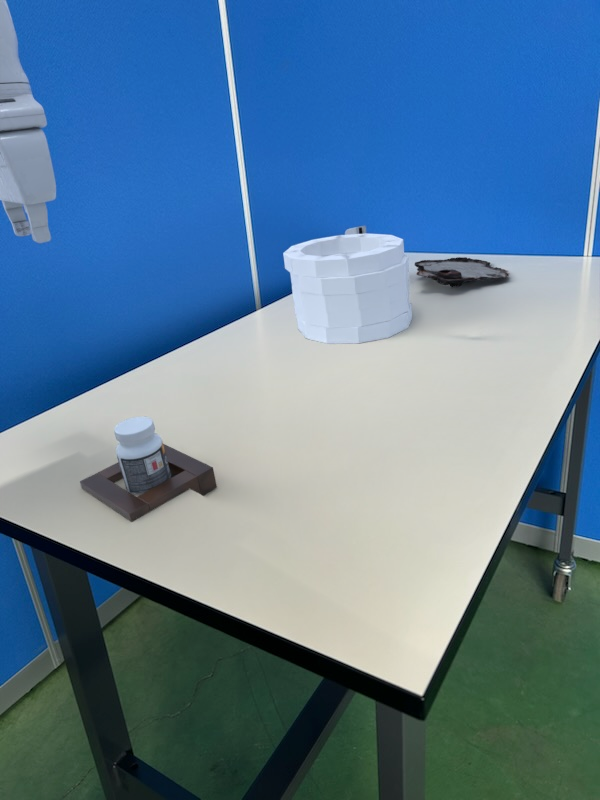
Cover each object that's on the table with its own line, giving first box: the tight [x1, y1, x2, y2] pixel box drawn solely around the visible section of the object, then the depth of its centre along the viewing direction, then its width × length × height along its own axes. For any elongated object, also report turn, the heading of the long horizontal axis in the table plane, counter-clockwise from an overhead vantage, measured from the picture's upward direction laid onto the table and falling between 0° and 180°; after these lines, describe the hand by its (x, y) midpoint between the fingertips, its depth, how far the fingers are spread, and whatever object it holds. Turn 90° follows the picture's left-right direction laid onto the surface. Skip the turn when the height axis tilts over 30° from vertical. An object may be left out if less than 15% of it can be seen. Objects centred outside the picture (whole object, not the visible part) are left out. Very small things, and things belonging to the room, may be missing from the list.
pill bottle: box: [113, 416, 172, 495], centre depth 77 cm, size 6×6×10 cm
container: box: [282, 232, 413, 345], centre depth 127 cm, size 25×24×16 cm
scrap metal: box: [414, 256, 510, 289], centre depth 151 cm, size 23×4×30 cm
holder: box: [79, 443, 218, 523], centre depth 78 cm, size 12×12×3 cm
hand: (33, 238), depth 77 cm, fingers open, 8 cm apart
